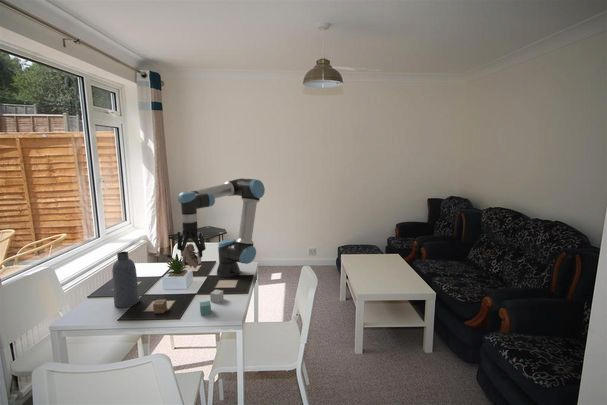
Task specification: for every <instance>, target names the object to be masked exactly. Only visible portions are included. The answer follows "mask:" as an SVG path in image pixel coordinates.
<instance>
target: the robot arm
mask: <svg viewBox="0 0 607 405" xmlns="http://www.w3.org/2000/svg"><path fill="white" fill-rule="evenodd" d="M265 191H266V190H265V186H264V183H263V181H261V180H260V179H256V178H236V179H233V180H229V181H225V182H224V183H222V184H219V185H213V186H210V187H205V188H201V189H197V190H192V191H182V192H180V193H179V195H178V197H177V199H178V202H179V203H180V207H181V209H180V210H181V220H182V225H181V226H182V230H179V231H178V232H177V236H178V237H177V245H176V246H177V247H176V250H178V251H180V256H181V258H182V257H183V253H184V248H185V247H187V244H188V241H189V239H190V240H192V241H193V242H194V245H195V247H196V249H197V252H196V253H197V254H196V255H197V259H198V264H200V265H201V263H202V258H203V252H204V251H205V250H206V245H205V244H206V243H205V238H204V232H203V231H199V230H198V212H197V210H198V209H205V208H211V207H213V206H214V205H215V203H216V199H218V198H223V197H226V196H227V197H233V196H240V197H241V198H240V199H241V201H243V202H242V209H241V214H240V215H241V216H240V217H241V218H240V224H239V229H238V230H239V232H238V238H237V239H235V238H229V239H224V240H221V241H219V242H218V249H217V250H218V251H217V252H218V266H217V269H216V276H217V277H219V278H223V279H225V278H226V279H228V278H229V279H230V278H234V277H237V276H239V275H240V273H241V269H240V267H239V264H238V263H241V264H244V265H248V264H251V263H252V262H253V261H254V260H255V258H256V256H257V249H256V247H255V246H254V244H255V243H254V241H253V233H254V226H255V220H256V219H255V218H256V210H257V204H258V203H259V202H260V200H261V198H262V197H264V195H265ZM183 235H184V236H183ZM184 244H185V245H186V246H185V245H184ZM186 262H187V260H186ZM187 263H188V262H187Z"/></svg>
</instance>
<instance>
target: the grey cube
mask: <svg viewBox="0 0 607 405" xmlns="http://www.w3.org/2000/svg"><path fill="white" fill-rule="evenodd" d="M209 295H210V296H209V297H210V303H215V304H216V303H217V304H219V303H221V302H222V301H223V300H224V290H221V289H214V290H213V291H211V292H210V293H209Z"/></svg>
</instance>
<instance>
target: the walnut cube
mask: <svg viewBox="0 0 607 405" xmlns="http://www.w3.org/2000/svg"><path fill="white" fill-rule="evenodd" d="M167 303H168V302H167V299H155V301H154V303H153V304H152V308H153V314H165V312H166V310H167V308H168V304H167Z"/></svg>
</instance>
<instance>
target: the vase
mask: <svg viewBox="0 0 607 405" xmlns="http://www.w3.org/2000/svg"><path fill="white" fill-rule="evenodd" d="M116 257H117V260H116V261H115V262H114V263H113V265H112V273H111V274H112V286H113V287H112V288H113V289H112V290H113V304H114V306H115V307H116V308H122V309H123V308H128V307H132V306H134V305H136V304H138V303H139V302H140V298H141V297H140V291H139V285H138V284H139V283H138V282H139V281H138V275H137V269H136V264H135V262H134V261H133V260H132V259H131V258H129V252H128V251H120V252H117V256H116Z"/></svg>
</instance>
